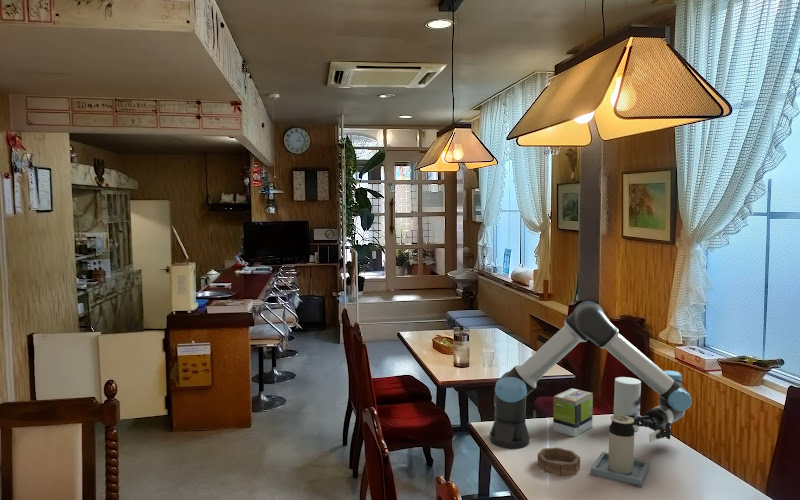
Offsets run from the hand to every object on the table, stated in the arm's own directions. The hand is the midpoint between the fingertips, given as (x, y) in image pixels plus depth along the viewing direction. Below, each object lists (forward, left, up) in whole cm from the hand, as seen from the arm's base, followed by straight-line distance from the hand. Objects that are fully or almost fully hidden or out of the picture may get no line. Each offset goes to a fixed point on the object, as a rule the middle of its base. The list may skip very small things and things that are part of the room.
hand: (631, 432), depth 201 cm
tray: (-2, -5, -12) cm, 14 cm away
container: (-9, +39, -13) cm, 42 cm away
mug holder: (-21, -13, -12) cm, 28 cm away
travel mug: (-2, -5, -12) cm, 13 cm away
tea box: (-27, +25, -13) cm, 39 cm away
